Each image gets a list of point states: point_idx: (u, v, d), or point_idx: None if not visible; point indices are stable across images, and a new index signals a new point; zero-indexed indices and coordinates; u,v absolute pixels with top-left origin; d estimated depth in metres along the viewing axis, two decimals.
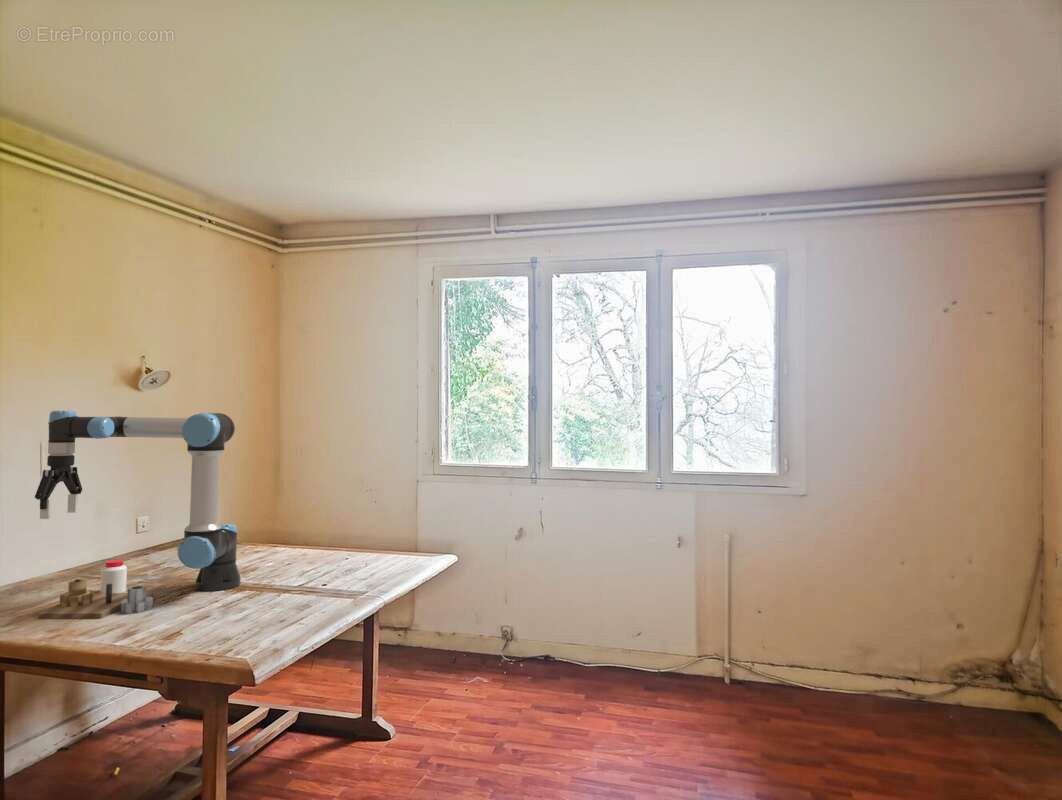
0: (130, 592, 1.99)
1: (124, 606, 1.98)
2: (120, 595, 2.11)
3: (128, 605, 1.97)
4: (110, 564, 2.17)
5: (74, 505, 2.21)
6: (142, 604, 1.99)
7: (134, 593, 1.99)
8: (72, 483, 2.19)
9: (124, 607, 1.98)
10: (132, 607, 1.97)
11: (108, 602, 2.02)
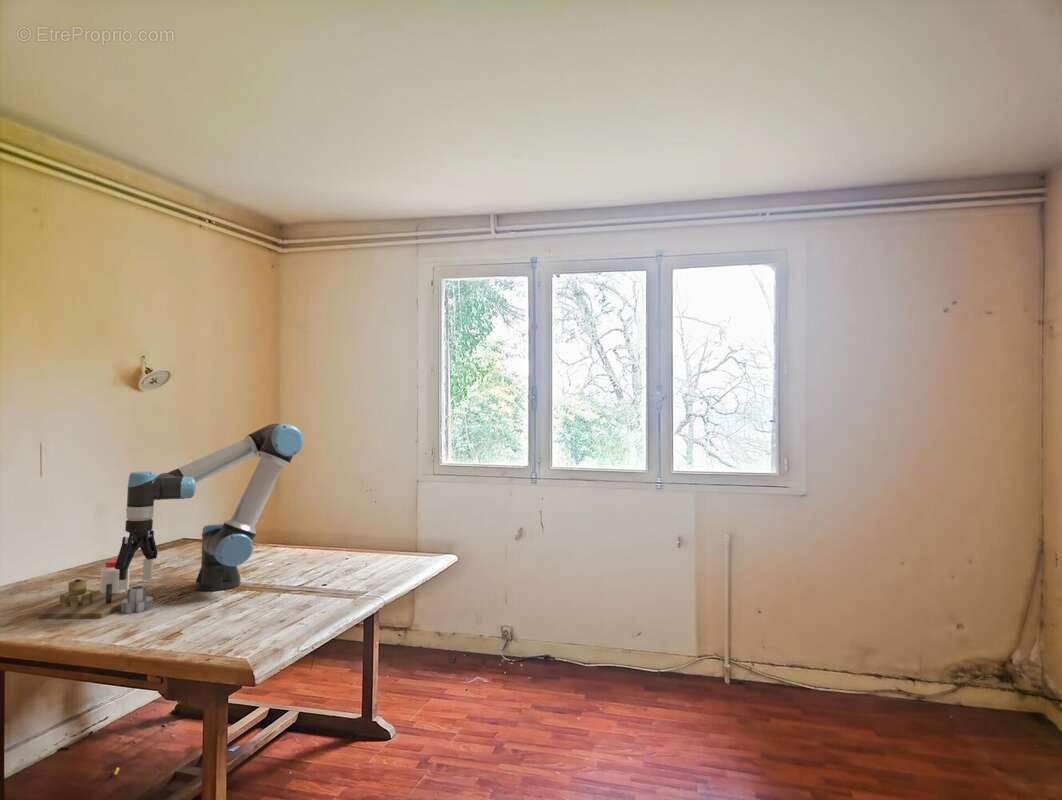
0: (130, 592, 1.99)
1: (124, 606, 1.98)
2: (120, 595, 2.11)
3: (128, 605, 1.97)
4: (110, 564, 2.17)
5: (150, 571, 2.08)
6: (142, 604, 1.99)
7: (134, 593, 1.99)
8: (149, 548, 2.06)
9: (124, 607, 1.98)
10: (132, 607, 1.97)
11: (108, 602, 2.02)
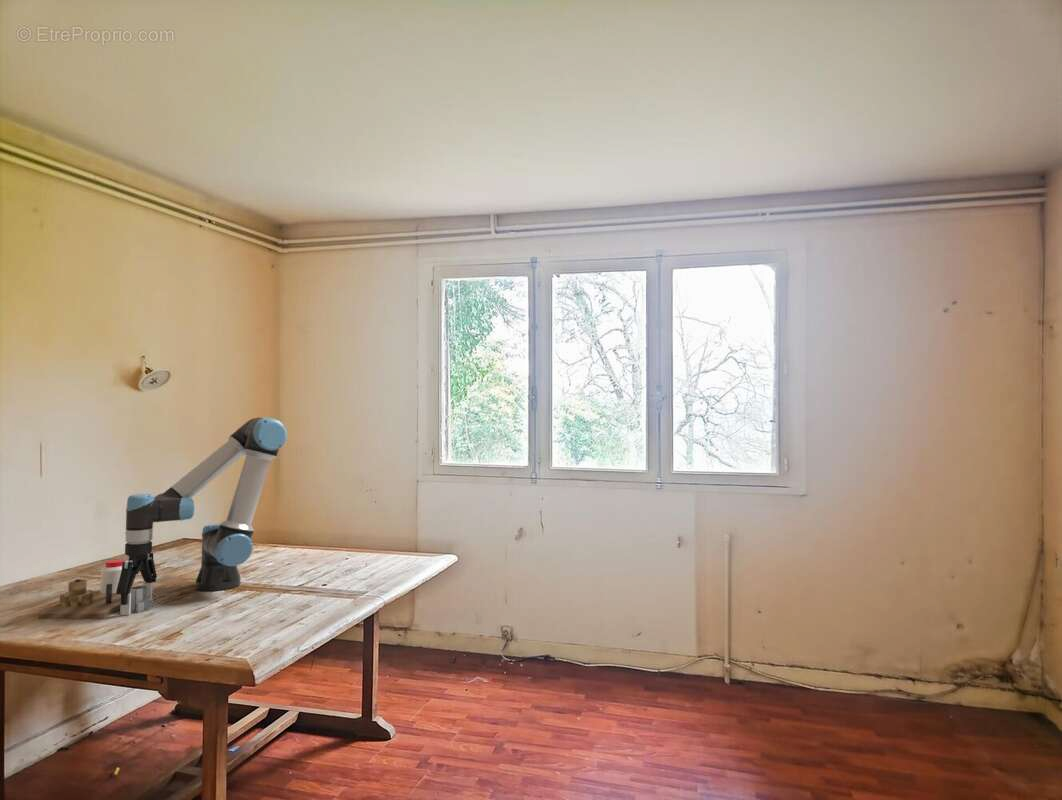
0: (130, 592, 1.99)
1: None
2: (120, 595, 2.11)
3: None
4: (110, 564, 2.17)
5: (149, 595, 2.07)
6: (142, 604, 1.99)
7: (134, 593, 1.99)
8: (148, 571, 2.06)
9: None
10: (132, 607, 1.97)
11: (108, 602, 2.02)
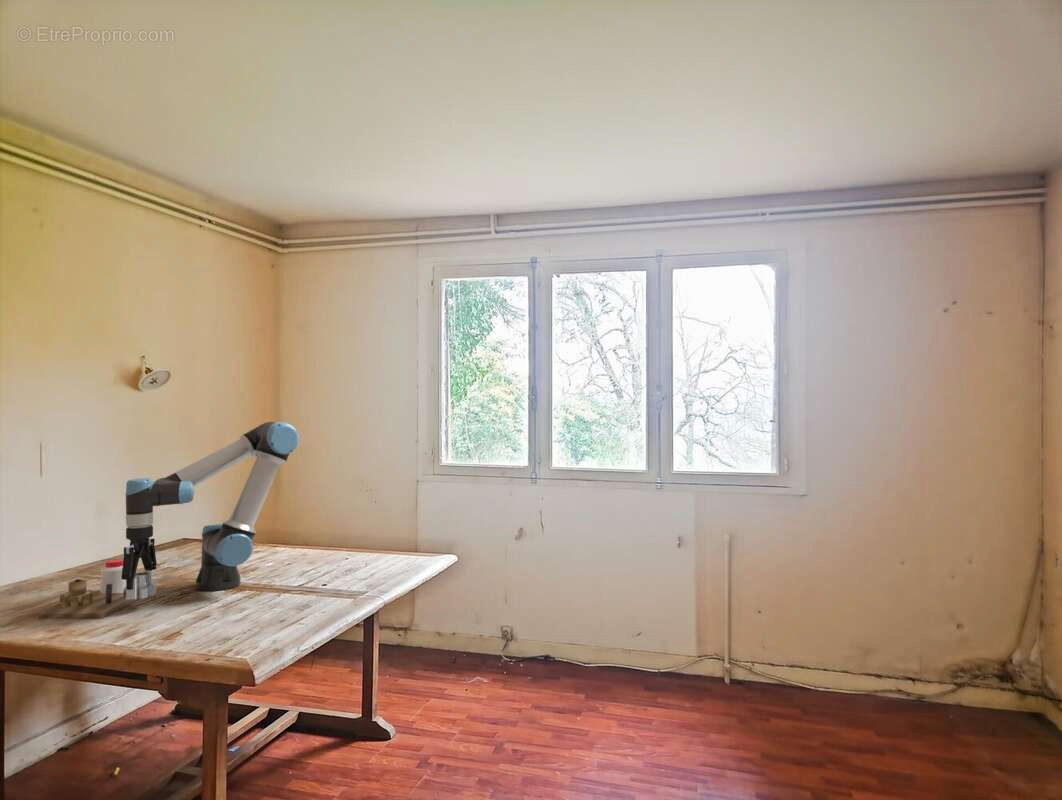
0: None
1: None
2: (120, 595, 2.11)
3: None
4: (110, 564, 2.17)
5: (150, 582, 2.06)
6: (145, 590, 1.99)
7: (137, 579, 1.99)
8: (149, 557, 2.05)
9: None
10: None
11: (108, 602, 2.02)
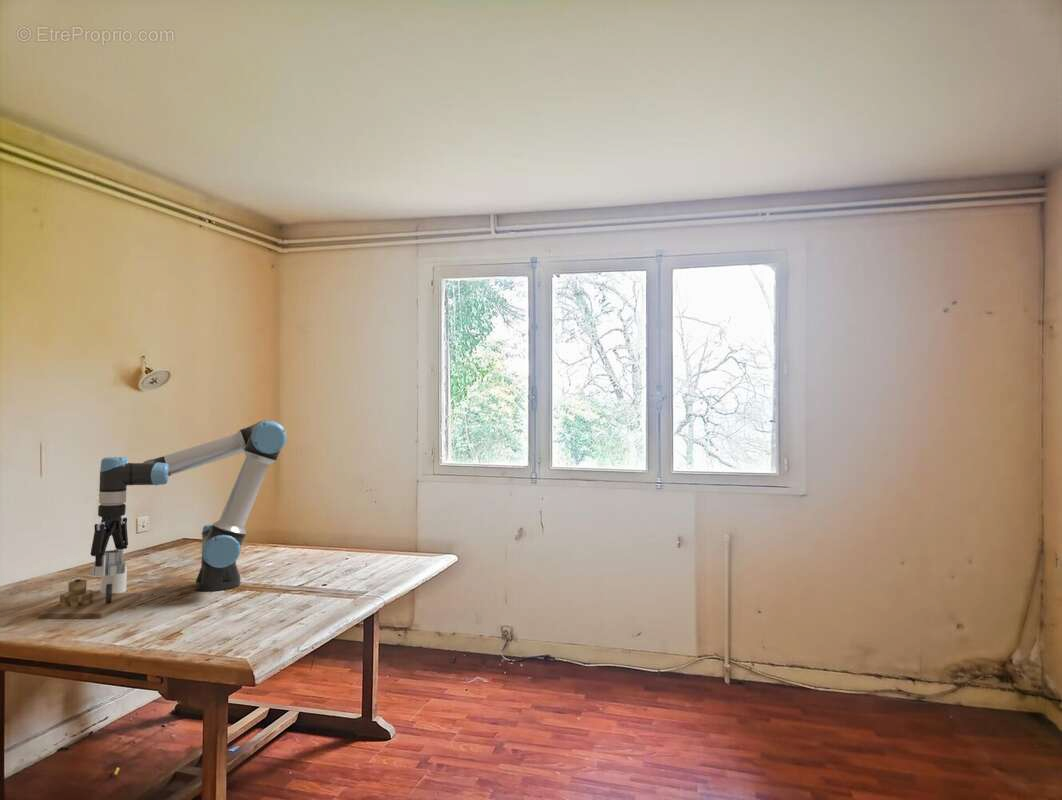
0: None
1: None
2: (120, 595, 2.11)
3: None
4: None
5: (120, 561, 2.07)
6: (114, 568, 2.00)
7: (107, 557, 2.00)
8: (120, 535, 2.07)
9: None
10: None
11: (108, 602, 2.02)
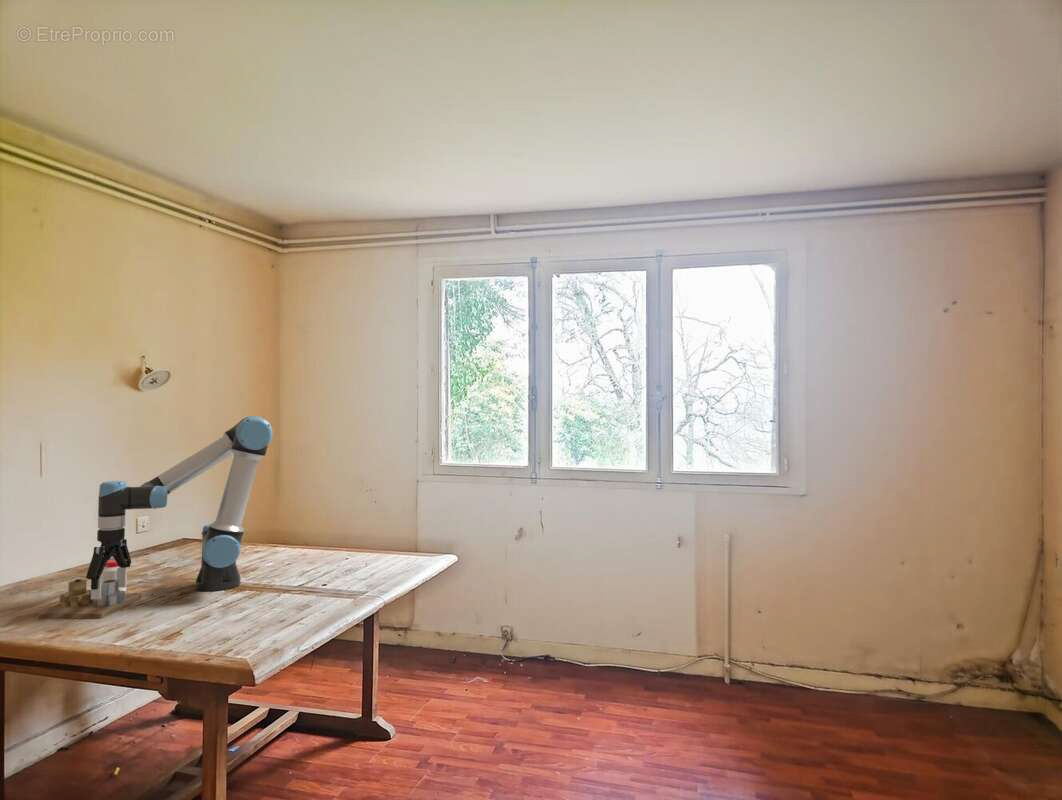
0: (102, 586, 2.00)
1: (96, 600, 1.99)
2: None
3: None
4: (110, 564, 2.17)
5: (123, 579, 2.09)
6: (114, 598, 2.00)
7: (107, 587, 2.00)
8: (122, 557, 2.07)
9: (96, 600, 1.99)
10: (104, 600, 1.99)
11: None
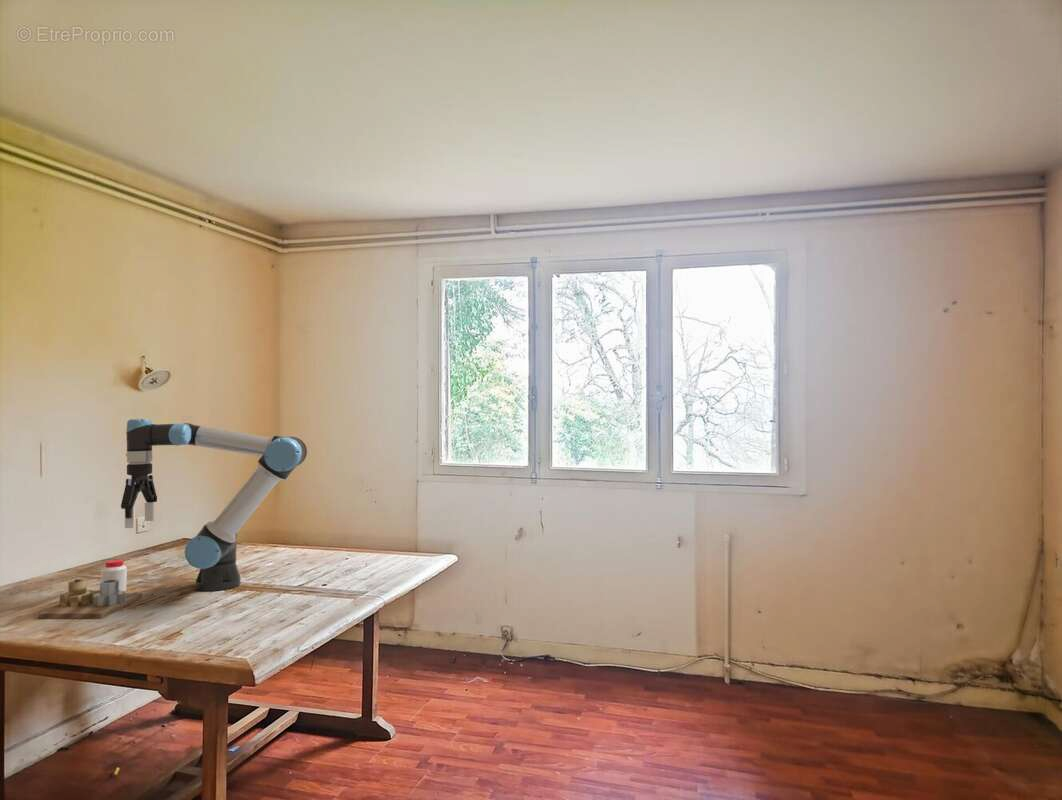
0: (102, 586, 2.00)
1: (96, 600, 1.99)
2: None
3: (100, 598, 1.98)
4: (110, 564, 2.17)
5: (151, 513, 2.20)
6: (114, 598, 2.00)
7: (107, 587, 2.00)
8: (149, 491, 2.18)
9: (96, 600, 1.99)
10: (104, 600, 1.99)
11: None
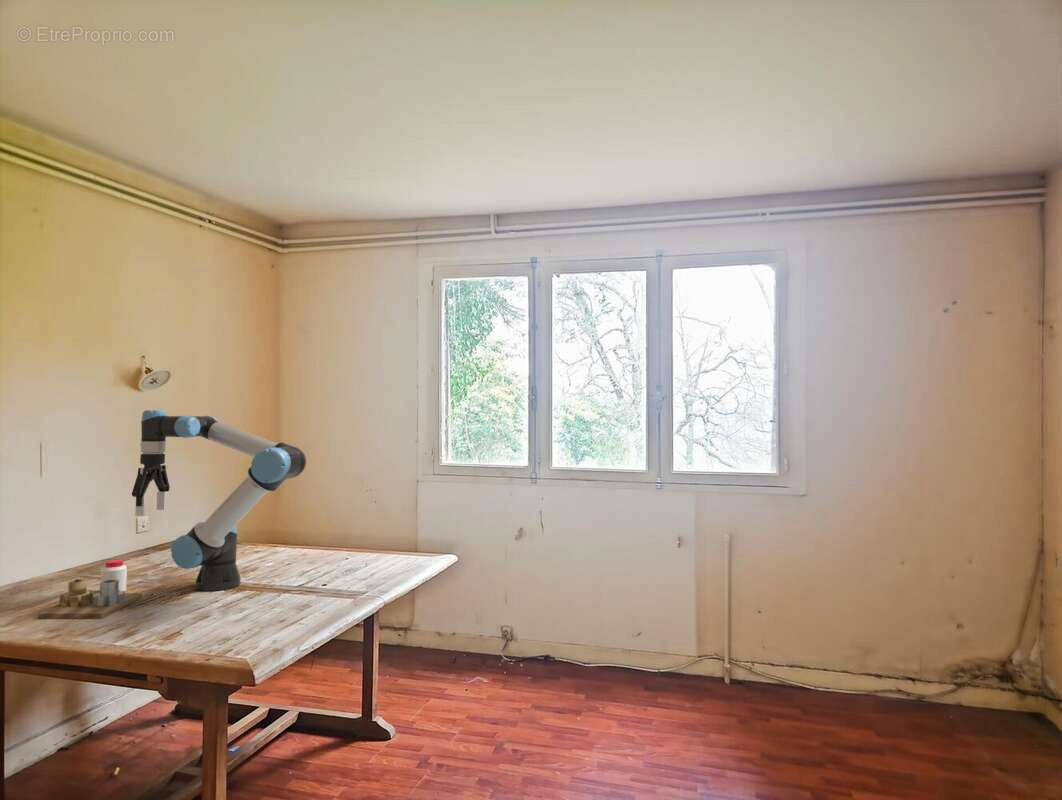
0: (102, 586, 2.00)
1: (96, 600, 1.99)
2: None
3: (100, 598, 1.98)
4: (110, 564, 2.17)
5: (163, 502, 2.26)
6: (114, 598, 2.00)
7: (107, 587, 2.00)
8: (162, 481, 2.24)
9: (96, 600, 1.99)
10: (104, 600, 1.99)
11: None
